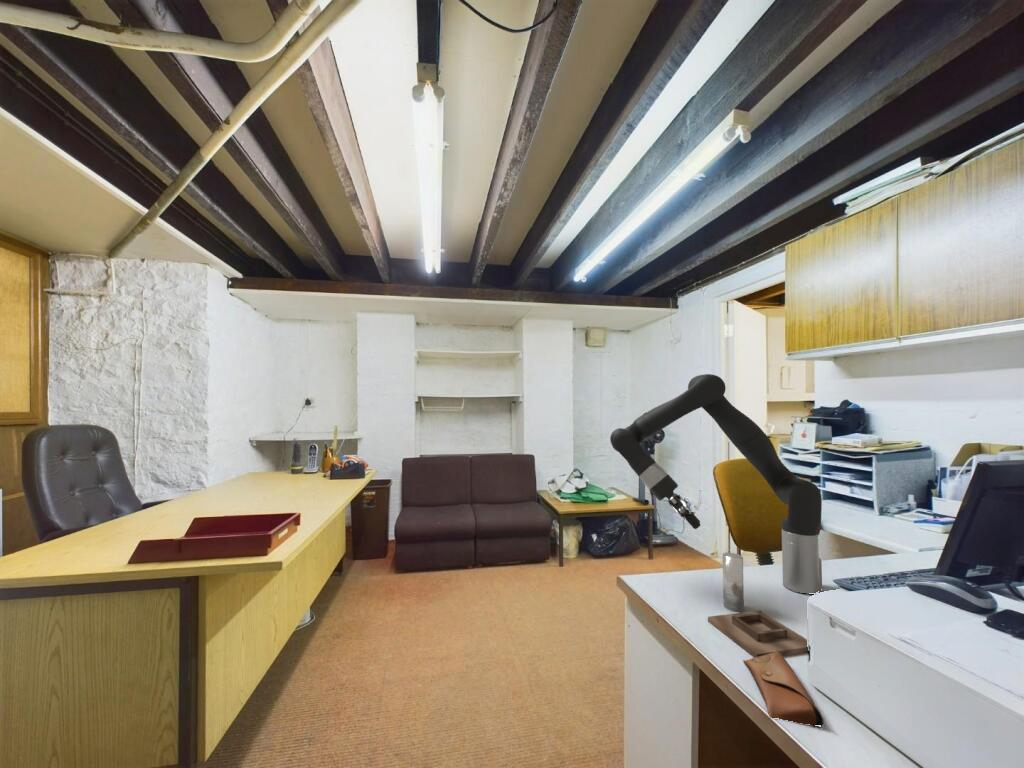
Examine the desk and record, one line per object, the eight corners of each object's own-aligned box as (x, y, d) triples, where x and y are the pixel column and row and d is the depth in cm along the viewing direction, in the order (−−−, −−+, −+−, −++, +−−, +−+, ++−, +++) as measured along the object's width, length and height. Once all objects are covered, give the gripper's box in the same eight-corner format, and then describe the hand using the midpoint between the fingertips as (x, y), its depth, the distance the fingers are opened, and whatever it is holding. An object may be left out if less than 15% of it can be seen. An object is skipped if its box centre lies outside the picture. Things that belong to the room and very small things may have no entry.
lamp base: (760, 615, 108) (760, 603, 109) (816, 651, 93) (816, 637, 93) (707, 621, 105) (707, 609, 105) (757, 659, 89) (756, 645, 90)
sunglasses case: (739, 657, 90) (755, 633, 89) (770, 679, 88) (787, 654, 88) (770, 719, 72) (791, 689, 72) (809, 747, 71) (831, 717, 70)
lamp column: (734, 602, 115) (733, 552, 116) (748, 610, 111) (747, 558, 111) (719, 603, 114) (718, 553, 115) (732, 612, 110) (731, 560, 110)
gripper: (666, 473, 119) (709, 520, 112) (668, 473, 132) (707, 515, 125) (646, 489, 120) (687, 536, 113) (650, 488, 133) (688, 530, 126)
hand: (698, 525), depth 119 cm, fingers open, 8 cm apart
